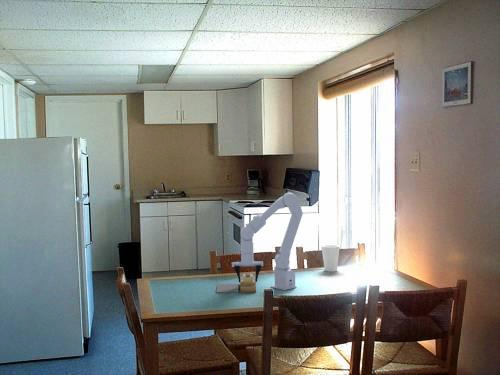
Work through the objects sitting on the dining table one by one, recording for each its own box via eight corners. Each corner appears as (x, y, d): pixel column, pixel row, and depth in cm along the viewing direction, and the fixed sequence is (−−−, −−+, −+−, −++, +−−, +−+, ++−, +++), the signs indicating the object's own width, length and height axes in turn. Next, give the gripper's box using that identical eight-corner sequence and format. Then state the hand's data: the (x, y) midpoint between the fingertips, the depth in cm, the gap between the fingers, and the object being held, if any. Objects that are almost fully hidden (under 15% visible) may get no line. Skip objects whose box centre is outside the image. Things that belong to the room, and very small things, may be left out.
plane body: (256, 292, 263) (255, 287, 263) (240, 293, 263) (240, 287, 263) (255, 283, 281) (255, 278, 281) (240, 284, 281) (240, 278, 281)
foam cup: (340, 271, 305) (340, 247, 304) (323, 272, 305) (322, 247, 304) (338, 268, 314) (338, 244, 314) (321, 268, 315) (320, 244, 314)
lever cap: (252, 284, 269) (252, 275, 269) (243, 284, 269) (242, 275, 269) (252, 281, 276) (252, 272, 276) (243, 281, 276) (242, 272, 276)
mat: (238, 292, 264) (238, 291, 264) (216, 293, 264) (216, 292, 264) (238, 284, 280) (238, 283, 280) (217, 285, 280) (217, 284, 280)
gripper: (262, 250, 276) (263, 279, 276) (231, 251, 275) (232, 280, 276) (263, 253, 269) (263, 282, 269) (231, 254, 268) (232, 283, 269)
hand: (247, 281), depth 272 cm, fingers open, 7 cm apart
